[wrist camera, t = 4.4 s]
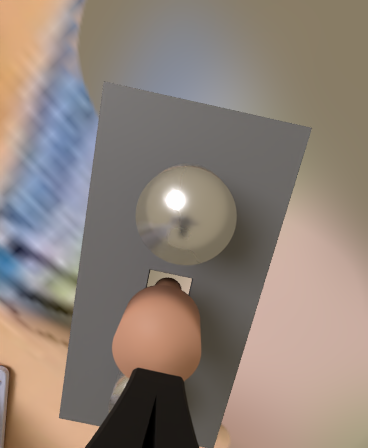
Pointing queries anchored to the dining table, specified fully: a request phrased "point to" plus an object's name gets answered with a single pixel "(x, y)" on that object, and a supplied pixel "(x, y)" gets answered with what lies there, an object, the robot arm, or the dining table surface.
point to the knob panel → (146, 260)
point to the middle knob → (159, 332)
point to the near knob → (186, 215)
